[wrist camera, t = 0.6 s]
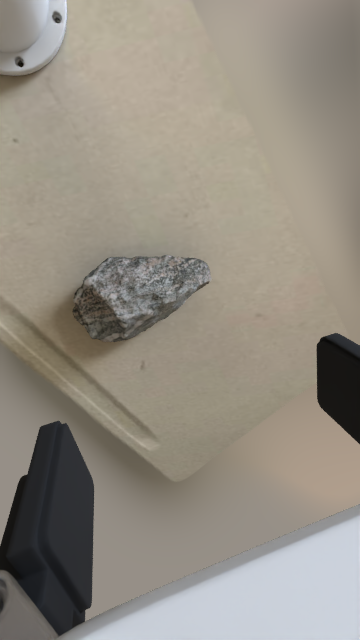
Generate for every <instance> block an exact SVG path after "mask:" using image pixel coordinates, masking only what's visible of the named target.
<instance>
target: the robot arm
mask: <svg viewBox="0 0 360 640" xmlns="http://www.w3.org/2000/svg"><path fill="white" fill-rule="evenodd" d="M56 19H59V20H60V23H56V22H55V20H56ZM66 21H67V5H66V0H0V74H2V75H11V76H19V75H27V74H30V73H33V72H35V71H38V70H40V69H41V68H42V67H44V66H45V65H47V64H48V63H49V62H50V61H51V60H52V58H53V57H54V56H55V55H56V53H57V51H58V50H59V48H60V46H61V44H62V41H63V37H64V34H65V30H66ZM20 62H22V63H23V64H24V66H23V67H19V63H20ZM317 399H318V403H319V405H320V407H321V408H322V409H323V410H324V411H325V412H326V413H327V414H328V415H329V416H331V418H333V419H334V420H335V421H336V422H337V423H338V424H339V425H340V426H341V427H342V428H343V429H344V430H345V431H346V432H347V433H348V434H350V435H351V436H352V437H353V438H354V439H355V440H356V441H357V442H358V443H359V444H360V345H358V344H356V343H354V342H353V341H351V340H349V339H347V338H345V337H344V336H342V335H340V334H338V333H334V334H331V335H328V336H325V337H322V338H321V339H320V342H319V343H318V344H317ZM93 516H94V484H93V480H92V477H91V475H90V472H89V470H88V468H87V466H86V464H85V462H84V460H83V457H82V455H81V453H80V451H79V448H78V446H77V444H76V442H75V440H74V438H73V436H72V433H71V431H70V429H69V427H68V425H67V424H66V423H65V424H61V423H60V421H57V422H53V423H50V424H47V425H44V426H41V427H40V429H39V433H38V436H37V440H36V444H35V448H34V452H33V456H32V460H31V463H30V467H29V471H28V474H27V475H24V476H22V477H21V479H20V481H19V483H18V486H17V490H16V493H15V497H14V501H13V504H12V507H11V511H10V514H9V518H8V522H7V525H6V528H5V532H4V535H3V539H2V542H1V546H0V640H360V504H359V505H356V506H354V507H351V508H349V509H346V510H344V511H341V512H339V513H336V514H334V515H332V516H329V517H327V518H324V519H322V520H319V521H317V522H315V523H312V524H310V525H307V526H305V527H303V528H300V529H298V530H295V531H293V532H290V533H288V534H286V535H283V536H281V537H278V538H276V539H273V540H271V541H269V542H266V543H264V544H261V545H259V546H257V547H254V548H252V549H249V550H247V551H245V552H242V553H240V554H238V555H235V556H233V557H230V558H228V559H226V560H223V561H221V562H219V563H216V564H214V565H211V566H209V567H207V568H204V569H202V570H199V571H197V572H195V573H193V574H190V575H187V576H185V577H183V578H180V579H178V580H176V581H173V582H171V583H168V584H166V585H164V586H162V587H159V588H157V589H155V590H152V591H150V592H148V593H146V594H143V595H141V596H139V597H137V598H135V599H132V600H130V601H128V602H126V603H123V604H121V605H119V606H116V607H114V608H112V609H110V610H107V611H105V612H103V613H102V614H99V615H97V616H95V617H94V618H91V619H89V620H87V621H85V610H86V609H88V608H90V607H91V603H92V565H93Z"/></svg>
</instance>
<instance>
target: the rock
mask: <svg viewBox="0 0 360 640" xmlns="http://www.w3.org/2000/svg"><path fill="white" fill-rule="evenodd" d="M210 281H211V275H210V270H209V267H208V265H207V264H206V263H205V262H204V261H202V260H200V259H196V258H183V257H181V258H179V257H173V256H170V255H165V256H162V257H142V256H138V257H134V258H132V259H129V258H125V257H110V258H107V259H106V260H105V261H104V262H102V263H101V264H100V265H99V266H98V267H97V268H96V269H95V270H93V271H92V272H91V273H90V274H89V275H88V276H86V277H85V278H84V280H83V285H82V286H81V287H80V288H79V289H78V290H77V292H76V293H75V296H74V299H73V301H74V303H75V304H76V306H75V307H74V309H73V315H74V317H75V318H76V319H77V321H78V322H79V323H80V324H81V325H84V326H85V328H86V329H87V332H88V333H89V335H90V337H91V338H92V339H99V340H102V341H103V342H112V341H113V342H117V341H122V340H128V339H130V338H132V337H135V336H136V335H138V334H139V333H141V332H143V331H145V330H146V329H148V328H150V327H151V326H153V325H154V324H155V323H157V322H158V321H160V320H162V319H165V318H166V317H168V316H169V315H170V314H171V313H173V312H174V311H176V310H177V309H178V308H179V307H180V306H181V305H183V304H184V303H185V300H186V299H188V298H189V297H190V296H191V295H192V294H193V293H194V292H196V291H197V290H199V289H200V288H202V287H204V286H205V285H206V284H208V283H209V282H210Z"/></svg>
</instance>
